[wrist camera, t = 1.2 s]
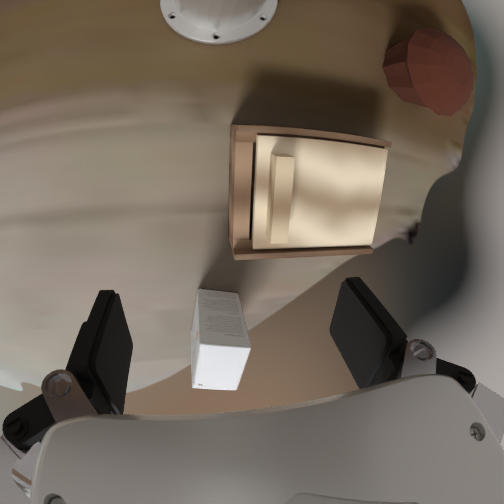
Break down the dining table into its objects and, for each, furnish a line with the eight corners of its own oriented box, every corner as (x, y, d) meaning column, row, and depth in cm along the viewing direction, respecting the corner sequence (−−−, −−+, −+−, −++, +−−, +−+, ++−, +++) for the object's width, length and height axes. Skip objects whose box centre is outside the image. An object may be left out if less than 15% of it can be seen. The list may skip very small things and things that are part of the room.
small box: (227, 335, 41) (237, 391, 32) (190, 331, 39) (191, 389, 30) (239, 291, 38) (253, 347, 28) (197, 286, 36) (199, 343, 27)
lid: (256, 135, 24) (263, 137, 22) (383, 148, 27) (400, 152, 24) (251, 246, 29) (256, 259, 27) (368, 242, 32) (381, 253, 29)
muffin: (415, 128, 31) (468, 139, 22) (360, 74, 27) (413, 66, 18) (444, 73, 28) (494, 75, 19) (396, 19, 24) (446, 6, 15)
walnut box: (230, 124, 28) (237, 125, 23) (362, 136, 31) (391, 142, 25) (228, 235, 34) (234, 260, 28) (348, 232, 37) (372, 253, 31)
